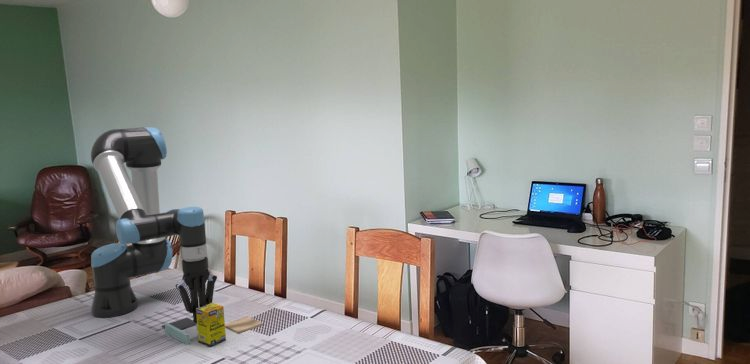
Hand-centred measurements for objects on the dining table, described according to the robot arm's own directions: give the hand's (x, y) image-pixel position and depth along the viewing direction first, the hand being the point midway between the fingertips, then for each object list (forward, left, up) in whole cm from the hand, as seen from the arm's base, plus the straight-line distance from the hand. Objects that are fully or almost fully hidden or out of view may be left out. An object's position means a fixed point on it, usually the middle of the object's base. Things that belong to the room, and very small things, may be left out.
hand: (201, 331), depth 172 cm
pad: (+3, +13, -2) cm, 13 cm away
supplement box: (+6, 0, -2) cm, 6 cm away
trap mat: (-14, 0, -2) cm, 14 cm away
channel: (-5, 0, -2) cm, 5 cm away
